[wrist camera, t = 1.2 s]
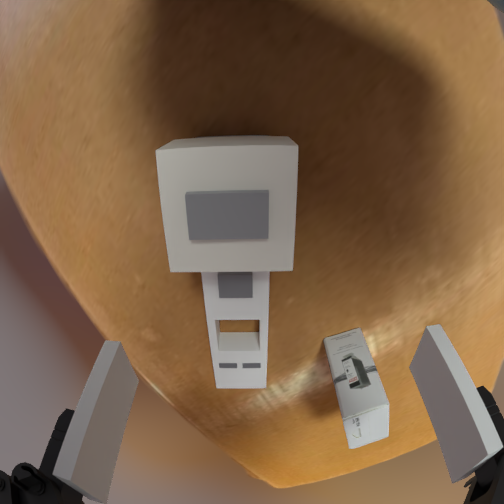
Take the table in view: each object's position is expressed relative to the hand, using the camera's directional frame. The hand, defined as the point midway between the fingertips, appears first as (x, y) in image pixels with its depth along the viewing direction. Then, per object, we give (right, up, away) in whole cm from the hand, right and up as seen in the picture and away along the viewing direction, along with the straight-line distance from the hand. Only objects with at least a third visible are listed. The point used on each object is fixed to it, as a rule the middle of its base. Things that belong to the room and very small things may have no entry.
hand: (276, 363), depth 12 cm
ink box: (+11, -8, +25) cm, 28 cm away
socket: (-2, -3, +21) cm, 21 cm away
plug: (-3, +10, +14) cm, 17 cm away
